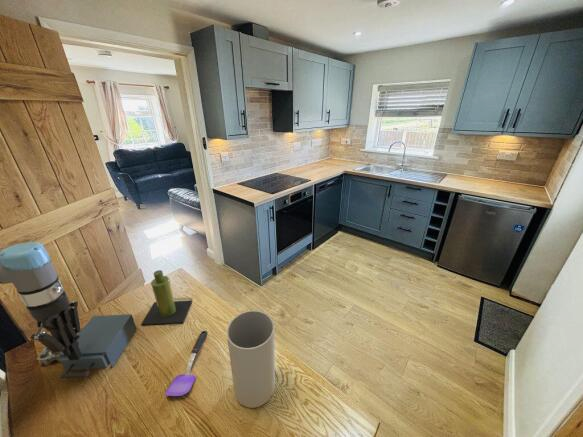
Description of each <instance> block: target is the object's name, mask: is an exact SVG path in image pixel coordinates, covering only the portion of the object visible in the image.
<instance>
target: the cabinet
mask: <svg viewBox="0 0 583 437" xmlns="http://www.w3.org/2000/svg"><path fill="white" fill-rule="evenodd" d="M135 332H137V325H136V322H135V320H134V317H133V313H127V314H109V315H108V314H107V315H105V314H104V315H93V316H91V318H90V320H88V322H87V323H86V324H85V325H84V326H83V327H82V329H81V331H80V332H79V333H77V335H80V337H79V339H77V341H78V343H79V345H78V347H79V349H80V351H81V353H82V355H95V354H104V355H105V357H106V359H107V361H108V364H109V365H110V367H109V369H112V368H114V366H115V365H116V363H117V361H118V360H119V358H120V356H121V355H122V353H123V352H124V350H125V348H126V347H127V345H128V343H129V342H130V340H131V339H132V337H133V335H134V334H135ZM60 357H61V358H62V357H67V356H65V355H64V354H63V352H62V353H61V354H60Z"/></svg>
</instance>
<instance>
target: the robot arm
mask: <svg viewBox="0 0 583 437" xmlns="http://www.w3.org/2000/svg"><path fill="white" fill-rule="evenodd" d="M0 284H1V285H2V284H3V285H5V284H12V285H13V286H14V288H15V289H16V292H17V293H18V295H19V297H20V299H21V301H22V302H23V304H24V306H26V309H27V311H28V313H29V314H30V317H31V318H33V319H34V320H35V321H36V327H37V331H36V333H33V334H32V335H30V339H31V340H35V341H38V342H39V343H40V344H41V345H43V346H44V347H47V348H48V349H49V350H51V351H52V352H63V354H64V355H65V356H67V357H68V359H69V360H79V359H80V358H81V357H82V353H81V351H80V349H79V347H78V345H79V343H78V341H77V339H79V337H80V335H77V334H78V333H79V332H80V331H81V330H82V329H81V323H80V318H79V312H78V305H79V302H78V301H70V300H69V297H68V295H67V293H66V291H65V290H64V287H63V285H62V282H61V280H60V278H59V276H58V273H57V271H56V269H55V267H54V264H53V262H52V259H51V255H50V254H49V253H48V252H47V250H46V248H45V246H44V244H42V243H40V242H37V241H28V242H23V243H22V242H20V243H17V244H13V245H10V246H8V247H5V248H4V249H2V250H1V251H0Z"/></svg>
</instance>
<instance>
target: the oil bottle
mask: <svg viewBox="0 0 583 437" xmlns="http://www.w3.org/2000/svg"><path fill="white" fill-rule="evenodd" d="M153 277H154V278H153V280H151V283H150V284H151V288H152V292H153V296H154V299H155V302H156V303H157V307H158V310H159V314H160V316H161V317H169V316H171V315H173V314H174V313H175V311H176V307H175V302H174V301H175V298H174V294H173V290H172V286H171V283H170V278H169V277H168V276H167V275H164V272H163V270H160V269H159V270H156V271H154V272H153Z"/></svg>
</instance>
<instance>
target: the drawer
mask: <svg viewBox="0 0 583 437" xmlns="http://www.w3.org/2000/svg"><path fill="white" fill-rule="evenodd" d="M59 363H60V364H61V366H62V368H63V369H64V372H62V373H61V374H60V377H59V378H60V379H72V378H86V377H88V376H89V374H90V371H91V370H95V369H97V370H98V369H107V368H108V367H109V365H110V364H108V361H107V359H106V357H105V355H104V354H95V355H82V357H81V358H80V359H79V360H69V359H68V357H62V358H61V359H60V362H59ZM81 370H85V371H81ZM70 371H73V372H70Z"/></svg>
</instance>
